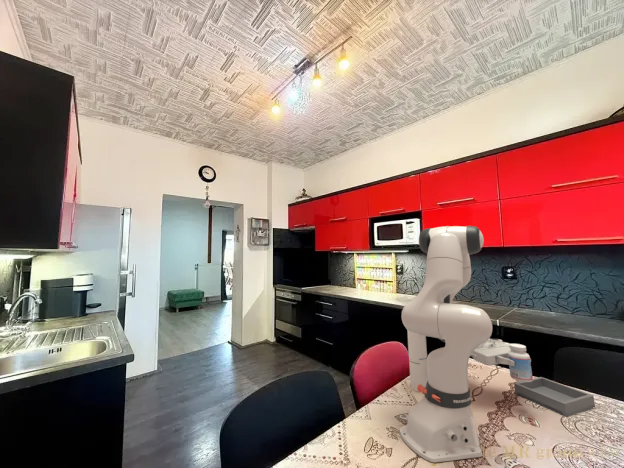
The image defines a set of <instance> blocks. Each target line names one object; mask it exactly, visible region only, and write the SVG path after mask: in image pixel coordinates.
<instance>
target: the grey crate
mask: <svg viewBox="0 0 624 468" xmlns="http://www.w3.org/2000/svg"><path fill="white" fill-rule="evenodd" d="M513 388H514V394H515V395H517V396H519V397H521V398H523V399H525V400H527V401H530V402H532V403H534V404H536V405H539V406H540V407H541V406H542V407H543V408H546V409H547V410H551V411H553V412H555V413H557V414H560V415H561V416H564V417H566V418H567V417H570V416H571V417H572V416H574V415H576V414H579V413H582V412H586V411H588V410H591V408H592V409H594V408H593V407H595V408H596V406H595V399H594V396H595V395H593V394H590V393H588V392H585V391H583V390H578V389H576V388H574V387H571V386H568V385H564V384H562V383H559V382H557V381H554V380H551V379H548V378H545V377H542V376H539V377H535V378H533V381H532V382H520V381H516V382H514V383H513Z"/></svg>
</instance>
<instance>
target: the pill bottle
mask: <svg viewBox="0 0 624 468" xmlns="http://www.w3.org/2000/svg"><path fill="white" fill-rule="evenodd" d="M509 348H510V349H511V350H510V351H509V352H508V359H513V360H515V361H516V366H511V365H508V367H509V376H510V379H513V380H515V381H516V382H532V381H533V379H534V378H533V371H532V366H531V365H532V363H531V362H532V361H531V362H530V359H531V357H530V355H529V353H527V346H526V345H524V344H520V343H510V344H509Z"/></svg>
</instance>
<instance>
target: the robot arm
mask: <svg viewBox="0 0 624 468" xmlns="http://www.w3.org/2000/svg"><path fill="white" fill-rule="evenodd" d="M484 242H485V239H484V235H483V233H482V231H481V230H480V228H479V227H477V226H475V225H474V226H473V225H466V226H459V225H453V226H450V225H446V226H444V225H443V226H437V227H433V228H431V227H429V228H424V229H422V230H421V231H420V232H419V236H418V245H419V248H420V250H421V251H422V252H423V253H425V254H426V255H427V256H426V267H425V268H426V270H425V278H424V282H423V286H422V288H421V289H420V291H419V292H418V294H417V295H416V296H415V297H414V298H413V299H411V300H410V301H409V302H406V304H405V305H404V306H403V308H402V310H401V317H400V318H401V321H402V324H403V326H404V327H405V329H406V330H409V331H411V332H414V333H416V334H419V335H423V336H426V337H431V338H435V339H438V340H440V341H441V342H443V343H445V346H444V347H440V348H437V349H434V350H432V351H431V352H429V354H427V372H428V381H427V384H426V388H425V387H423V386H422V385H420V384H419V385H418V386H417V387H418V388H417V390H418V391H419V393H421V394H423V396H422V397H421V399H419V401H418V402H417V403H416V404H415V405H414V406H413V407H412V408H411V409H410V411H409V412H408V413H407V421H406V422H407V424H405V425H403V426H401V427H400V428H399V435H400V437H401V439H402V441H403V442H404V443H405V444H406V445H407V446H408V447H409V448H410V450H412V451H413V452H414V453H415V454H416V455H418V456H419V457H421V458H422V459H425V460H426V461H427V462H429V463H430V462H431V463H441V462H442V463H443V462H450V461H457V460H458V461H459V460H465V459H467V460H468V459H471V458H472V459H474V458H481V457H482V456H483V452H482V449H481V447H480V445H481V443H480V439H479V436H478V433H477V428H476V423H475V419H474V416H473V411H472V408H471V404H472V395H471V388H470V387H469V379H468V377H469V375H468V374H469V373H468V372H469V371H468V368H469V367H468V366H469V361H470V357H472V358H473V360H475V361H476V362H478V363H481V364H482V365H484V366H495V365H500V364H501V365H508V366H509V365H511V366H516V361H515V360H513V359H508V352H509V351H510V350H511V349H510V348H509V344H511V343H509V342H505V341H503V340H502V339H499V338H491V337H492V333H493V323H492V320H491V318H490V316H489V314H488V313H487V312H486V311H485V310H484V309H482V308H479V307H477V306H471V305H469V304H462V303H461V304H460V303H453V300H454V298H455V296H456V295H457V294H458V293H459V292H460V291H461V290H462V289H463V288H465V287H466V286H467V285H468V283H470V282H471V278H472V266H471V257H470V255H474V254H477V253H479V252H480V251H482V248H483V246H484ZM530 362H532V359H531V358H530ZM418 391H417V392H418Z"/></svg>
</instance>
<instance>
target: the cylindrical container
mask: <svg viewBox="0 0 624 468" xmlns="http://www.w3.org/2000/svg"><path fill="white" fill-rule="evenodd" d="M406 330H407V329H406ZM407 346H408V348H407V349H408V358H409V359H408V362H409V364H408V365H409V380H410V389H412V390H413V391H416V392H419V391H418V390H417V388H418V387H417V386H418V385H419V384H420V385H422V386H423V387H425V388H426V384H427V381H428V372H427V357H428V351H427V336H423V335H419V334H416V333H414V332H411V331H409V330H407ZM419 393H420V392H419Z"/></svg>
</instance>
